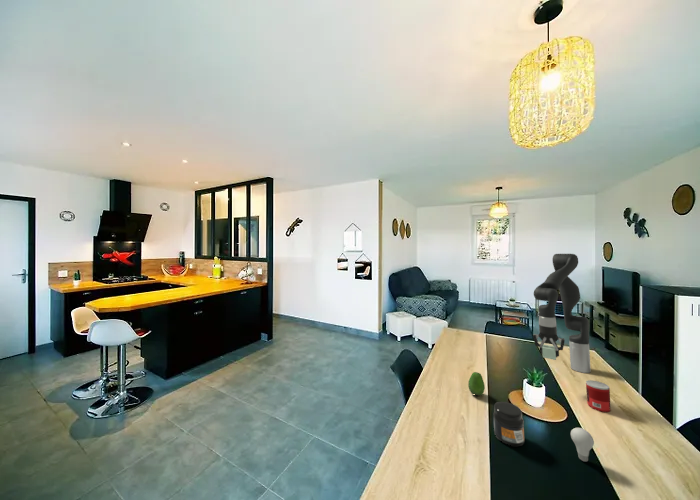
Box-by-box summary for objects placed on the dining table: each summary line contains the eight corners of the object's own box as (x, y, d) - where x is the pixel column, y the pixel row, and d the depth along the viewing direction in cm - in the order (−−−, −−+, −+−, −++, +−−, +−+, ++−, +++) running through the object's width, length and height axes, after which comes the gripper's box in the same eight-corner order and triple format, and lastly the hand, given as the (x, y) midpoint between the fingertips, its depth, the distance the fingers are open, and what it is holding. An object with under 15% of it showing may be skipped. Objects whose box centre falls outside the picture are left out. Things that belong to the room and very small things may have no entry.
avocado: (487, 399, 127) (486, 376, 127) (470, 398, 129) (469, 375, 129) (482, 391, 135) (481, 368, 135) (466, 390, 136) (465, 368, 137)
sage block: (543, 354, 139) (543, 344, 140) (556, 356, 136) (555, 346, 136) (542, 357, 135) (542, 347, 135) (555, 360, 132) (555, 349, 132)
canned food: (615, 413, 113) (614, 389, 113) (595, 411, 115) (593, 387, 115) (602, 403, 121) (600, 380, 121) (583, 402, 122) (581, 379, 123)
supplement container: (525, 452, 93) (524, 419, 94) (493, 441, 99) (492, 411, 99) (524, 434, 102) (522, 405, 102) (494, 426, 108) (493, 398, 108)
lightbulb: (567, 454, 91) (565, 424, 92) (582, 453, 92) (580, 422, 92) (584, 468, 85) (582, 436, 86) (600, 467, 86) (598, 434, 86)
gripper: (565, 324, 134) (567, 356, 133) (532, 321, 143) (534, 350, 143) (564, 328, 128) (566, 361, 128) (530, 324, 138) (532, 354, 138)
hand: (549, 355), depth 136 cm, fingers closed on sage block, 5 cm apart
